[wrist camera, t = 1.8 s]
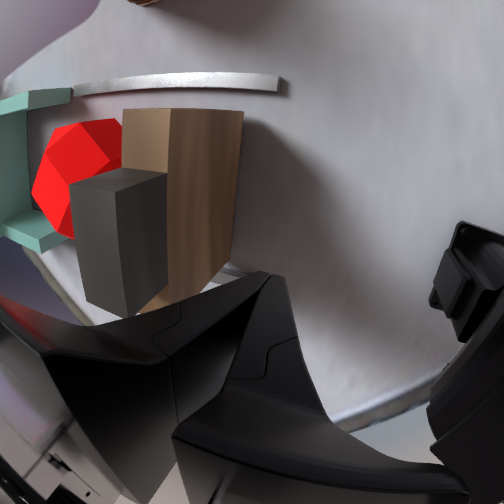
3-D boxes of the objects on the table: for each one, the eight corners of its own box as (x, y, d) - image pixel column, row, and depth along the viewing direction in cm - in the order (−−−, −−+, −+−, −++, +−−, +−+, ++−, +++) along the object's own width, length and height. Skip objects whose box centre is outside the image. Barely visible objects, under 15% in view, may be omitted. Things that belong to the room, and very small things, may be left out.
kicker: (244, 111, 17) (115, 110, 7) (230, 258, 21) (137, 364, 12) (208, 108, 17) (67, 114, 8) (199, 250, 22) (97, 343, 12)
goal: (71, 87, 21) (-1, 94, 14) (76, 234, 27) (18, 267, 20) (21, 100, 23) (-35, 110, 16) (28, 218, 30) (-20, 243, 23)
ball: (80, 170, 24) (14, 193, 17) (118, 101, 20) (41, 107, 13) (129, 232, 25) (66, 271, 18) (179, 167, 21) (105, 193, 14)
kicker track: (281, 77, 16) (278, 75, 15) (254, 287, 23) (251, 292, 22) (80, 85, 20) (74, 85, 20) (85, 237, 27) (80, 240, 26)
